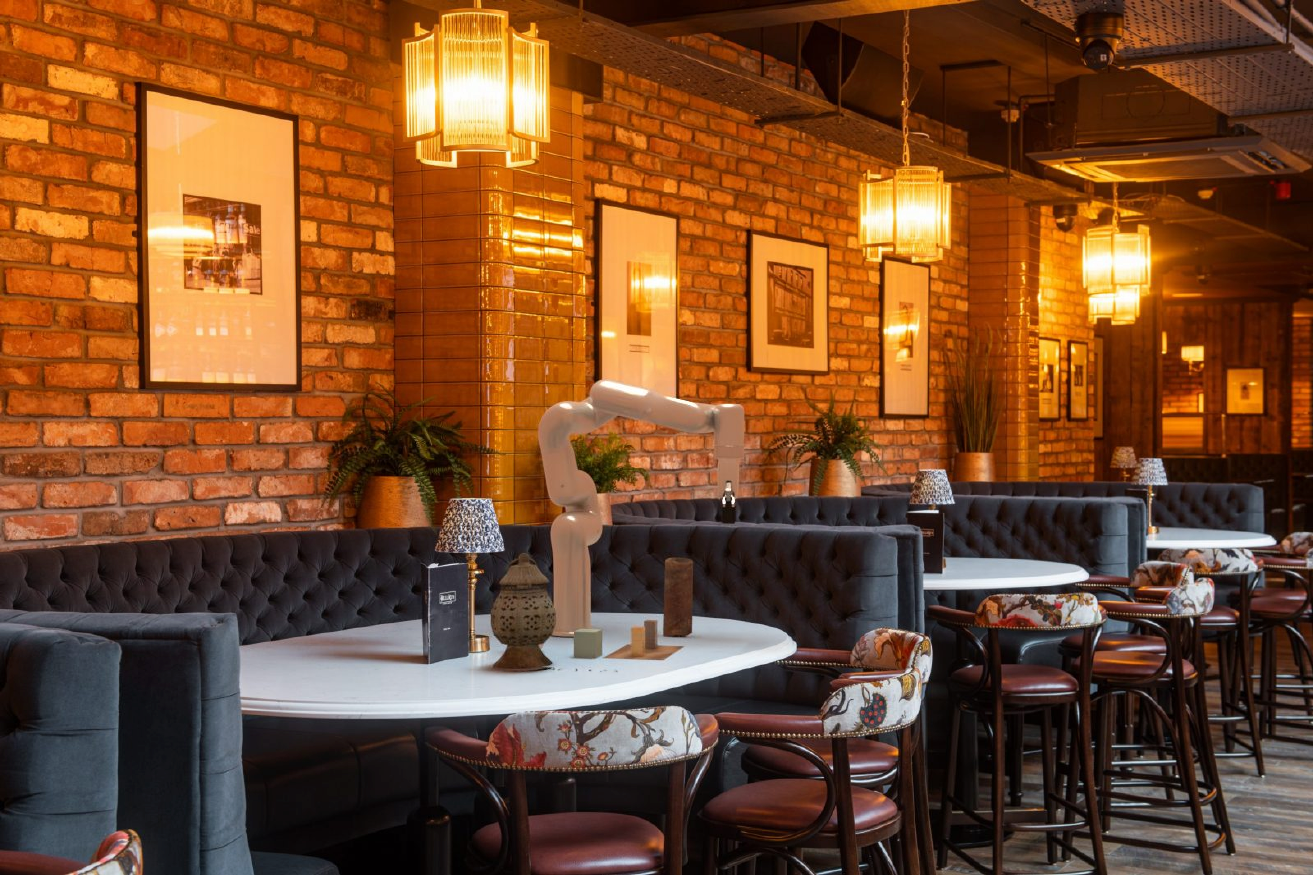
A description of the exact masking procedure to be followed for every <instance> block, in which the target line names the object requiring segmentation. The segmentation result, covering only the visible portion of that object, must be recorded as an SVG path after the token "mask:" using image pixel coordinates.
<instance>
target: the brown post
mask: <svg viewBox="0 0 1313 875" xmlns="http://www.w3.org/2000/svg"><path fill="white" fill-rule="evenodd" d="M643 627H645V649H656V648H657V645H658V619H646V620H643Z"/></svg>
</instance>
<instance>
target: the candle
mask: <svg viewBox="0 0 1313 875" xmlns="http://www.w3.org/2000/svg"><path fill="white" fill-rule="evenodd" d="M693 578H694V561H693V560H692V559H690V558H686V557H669V558H666V559H665V560H664V591H663V592H664V593H663V621H662V622H663V624H662V626H663V627H662V636H663V637H667V638H685V637H687V636H690V635H692V634H693V596H694V595H693V593H694V592H693V587H694V586H693V584H694V580H693Z"/></svg>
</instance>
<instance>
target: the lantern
mask: <svg viewBox="0 0 1313 875" xmlns="http://www.w3.org/2000/svg"><path fill="white" fill-rule="evenodd" d="M517 562H518V564H515V563H517ZM530 562H531V563H532V564H531V563H530ZM513 564H514V565H513ZM549 583H550V580H549V579H548V577H546V575H544V574H543V573H542V572H541V570H540V568H538V565H537V563H536V561H535V559H533V558H531V557H530V555H529V554H528V553H526V552H522V553H520V554H519V555H518V558H515V559H513V560H512V561H510V563H509V564H508V571H507V572H506V574H505V575H504V576H503V577H502V578H501V580H500V581H498V585H499V586H500V592H499V594H498V596H497V597H496V599H495V600H494V602H493V605H492V608H491V611H490V626H491V629H492V633H493V636H494V637H495V638H496V639H497V641H498V642H500V643H501V645H505V646H506V648H505V651H504V652H503V654H502V655H501V656H500V658H499V659H497V660H496V661H495V662H494V663H493V665H492V669H494V670H495V671H499V672H500V671H501V672H506V673H508V672H509V673H535V672H536V673H537V672H543V671H548V670H552V669H554V667H552V666H551V665H553V664H554V663H553V661H552V660H551V659H549V657H548V656H547V655H545V653H544V652H543V651H542V649H540V647H539V645H540V644H543V645H544V644H545V643H546V642H547V641H548V639H550V637H551V636H553V635H552V633H553V631H554V628H555V625H556V610H555V608H554V602H553V601H552V599H551V596H549V593H548V591H547V587H546V584H549ZM550 666H551V667H550Z"/></svg>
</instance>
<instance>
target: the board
mask: <svg viewBox="0 0 1313 875" xmlns="http://www.w3.org/2000/svg"><path fill="white" fill-rule="evenodd" d="M684 647H685V646H683V645H663V644H662V645H661V644H659V645H658V644H657V648H656V649H645V656H643V657H635V656H631V643H629V644H625V645H624V646H621V647H620V648H619V649H616V650H615V651H613V652H611V653H609V654H607V655H605V656H604V657H602V659H612V660H613V659H615V660H616V659H619V660H639V661H640V660H642V661H643V660H644V661H665V660H666V659H668V658H669V657H671V656H672V655H673V654H675V653H676V652H678V651H680V650H681V649H682V648H684Z"/></svg>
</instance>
